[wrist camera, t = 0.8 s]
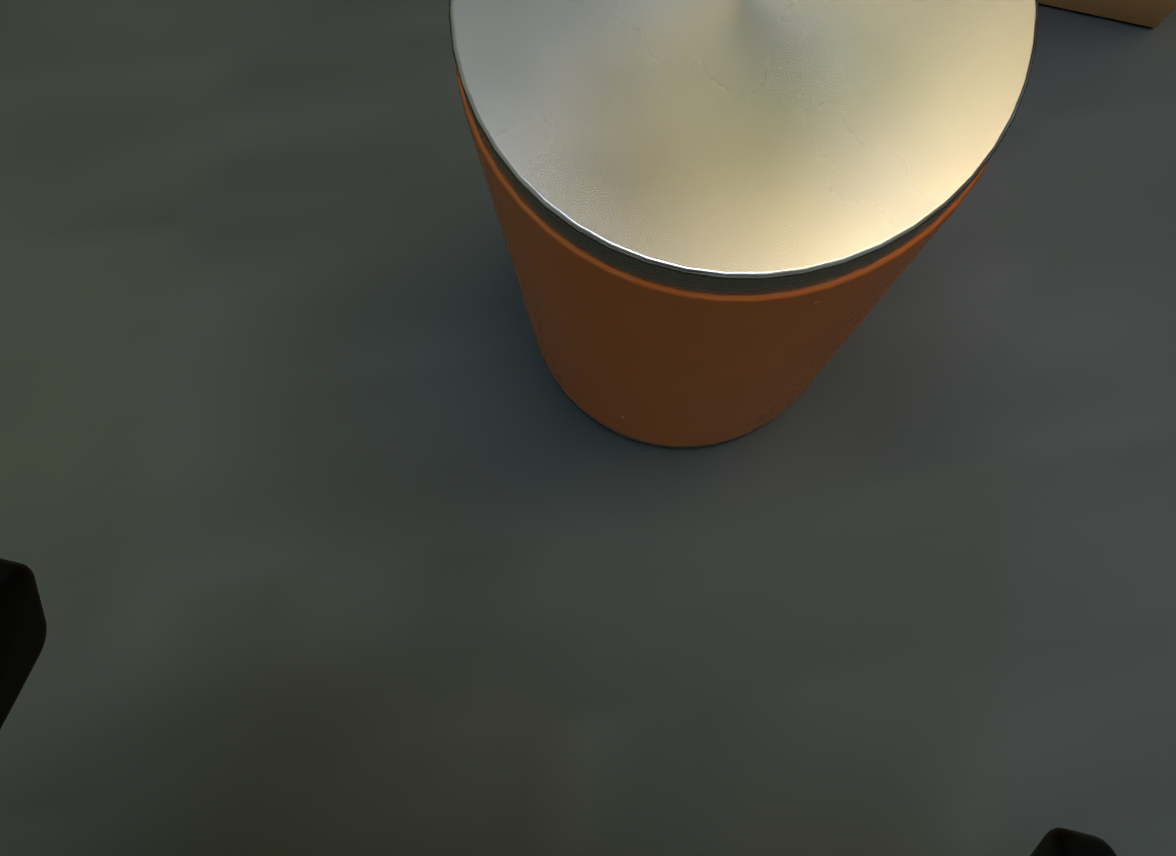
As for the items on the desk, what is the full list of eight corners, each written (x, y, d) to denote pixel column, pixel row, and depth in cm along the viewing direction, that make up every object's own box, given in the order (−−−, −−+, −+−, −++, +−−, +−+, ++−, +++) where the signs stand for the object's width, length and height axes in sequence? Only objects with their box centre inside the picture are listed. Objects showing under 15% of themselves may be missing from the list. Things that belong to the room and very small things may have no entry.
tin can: (823, 461, 24) (1042, 303, 12) (520, 439, 24) (415, 261, 12) (836, 172, 25) (1049, -259, 13) (545, 155, 25) (471, -285, 13)
